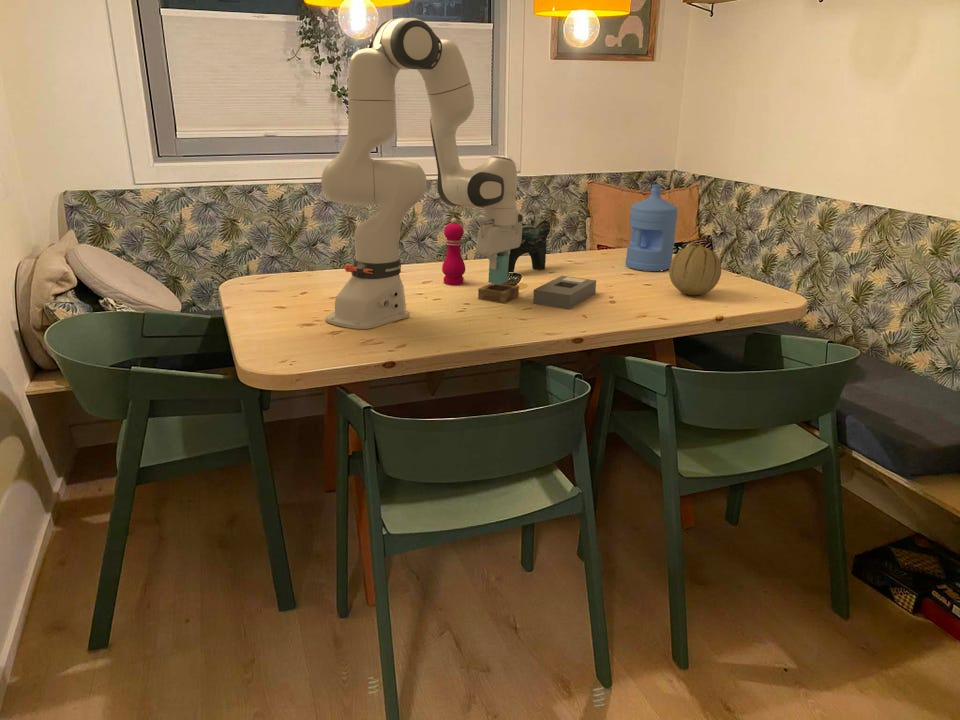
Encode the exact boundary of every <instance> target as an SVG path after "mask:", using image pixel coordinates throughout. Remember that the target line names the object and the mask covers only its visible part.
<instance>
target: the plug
mask: <svg viewBox="0 0 960 720" xmlns="http://www.w3.org/2000/svg"><path fill="white" fill-rule="evenodd" d="M496 260H497V262H498V268H497V269H491V268H490V263H489V266H488V267H489V268H488V281H487V282H488V283H489V284H491V283H494V284H498V285H502V284H505V283H508V278H509V276H508V265H509V254H504V251H503V252H500V253H497V257H496Z"/></svg>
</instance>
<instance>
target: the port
mask: <svg viewBox="0 0 960 720" xmlns="http://www.w3.org/2000/svg"><path fill="white" fill-rule="evenodd" d="M596 287H597V280H596V279H588V278H581V277H575V276H567V275H560V276H558V277H556V278H554V279H552V280H550V281H548V282H546V283H543V284H542V285H540V286H537V287H536V288H534V289H533V299H532V304H535V305H540V306H541V305H542V306H546V307H547V306H548V307H553V308H560V309H565V310H571V309H573V308H574V307H576V306H577V305H579V304H581V303H582V302H584V301H586V300H588V299H589V298H590V297H592V296H594V295H595V294H596V291H597V290H596Z"/></svg>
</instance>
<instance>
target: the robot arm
mask: <svg viewBox="0 0 960 720" xmlns="http://www.w3.org/2000/svg"><path fill="white" fill-rule="evenodd" d="M400 70H417V71H418V72H419V74H420V75H421V78H422V80H423V81H424V85H425V86H424V87H425V90H426V93H427V96H428V102H429V107H430V114H431V115H430V119H429V122H430V123H429V124H430V125H429V127H430V133H431V134H430V135H431V139H432V145H433V151H434V156H435V162H436V167H437V168H436V169H437V181H436V182H437V183H436V184H437V194H438V196H439V198H440V200H441V201H442V202H443V203H444V204H446V205H448V206H451V207H460V206H461V207H467V208H468V207H470V208H484V210H483V213H484V215H483V218H484V220H483V221H482V224H481V225H480V228H478V231H477V238H476V252H477V255H479V256H486V257H487V258H488V260H489V264H490V268H491V269H497V268H498V262H497V260H496V257H497V253H500V252H503V251H504V254H509V255H510V249H514V248H518V247H519V246H520V244H521V239H522V224H521V223H523V222H524V219H525V218H524V214H523V213H520V212H519V211H518V210H517V202H516V195H517V194H518V193H517V192H518V172H517V166H516V163H515V161H514V160H513V159H510V158H507V157H501V156H489V157H488V158H487V160H486V161H485V162H484V163H483V164H481V165H480V166H478V167H475V168H474V169H465V168H464V167H463V166H462V165H461V162H460V158H459V153H458V151H459V150H458V146H457V141H456V133H457V130H458V129H459V127H460V126H461V125H462V124H464V123H465V122H466V121H467V120H468V119H469V118H470V116H471V115H472V113H473V110H474V108H475V107H474V106H475V98H474V91H473V87H472V82H471V79H470V76H469V72H468V69H467V65H466V63H465V59H464V58H463V54H462V53H461V51H460V49H459V46H458V45H457V44H456V43H455V42H454V41H452V40H450V39H446V38H439V36H437V34H436V33H435V32H434V31H433V29H432V28H431V27H430V25H428V24H427V23H426V22H425V21H424V20H421V19H419V18H416V17H396V18H392V19H389V20H385V22H383V23H381V24H380V25H379V26H378V28H377V29H376V30H375V32H374V35H373V37H372V39H371V41H370V43H369V45H368V47H366V48H362V49H359V50H356V52H354V53H352V55H351V57H350V61H349V68H348V77H347V78H348V79H347V100H348V101H347V103H348V104H347V105H348V106H347V107H348V123H347V125H348V127H347V134H346V135H347V136H346V139H345V142H344V145H343V147H342V149H340V151H339V153H338V154H337V155H336V156H335V158H333V159H332V160H331V161H329V162H328V164H326V166H325V167H324V169H323V171H322V173H321V188H322V190H323V193H324V195H325V197H327V199H328V200H329V201H330V202H333V203H337V204H341V205H347V206H377V207H378V208H379V209H378V211H377V213H376V214H374V215H373V216H371V217H369V218H367V219H366V220H363V221H362V222H361V223H359V224H358V225H357V226H356V228H355V231H354V249H355V253H354V254H355V259H354V260H353V264H350V263H346V264H345V265H344V271H345V272H346V273H351V277H350V278H349V279H348V280H347V282H345V284H344V285H343V287H342V289H340V291H339V292H338V294H336V296H335V298H334V299H335V300H334V301H335V302H334V312H332V313H330V314H328V315H326V316H325V322H327V323H329V324H331V325H334V326H338V327H343V328H348V329H357V330H358V329H361V330H366V329H367V330H369V329H371V328H372V329H373V328H375V327H378V326H379V327H380V326H382V325H386V324H389V323H393V322H395V321H400V320H403V319H406V318H409V317H410V312H409V311H408V310H407V304H406V295H405V289H404V284H403V281H402V280H401V277H400V274H401V273H402V269H401V267H402V264H401V259H400V257H399V255H400V253H399V245H400V241H399V240H400V231H401V227H402V222H403V221H404V218H405V217H406V215H407V214H408V212H409V211H410V210H411V209H412V207H414V206H415V205H416V204H417V203H419V202H420V201H421V200H422V199H423V197H424V195H425V194H426V190H427V185H428V184H427V183H428V182H427V175H426V173H425V171H424V169H423V168H422V166H421V165H420V164H419V163H417V162H413V161H407V160H402V159H374V158H371V154H372V153H371V152H372V151H373V150H374V149H375V148H378V147H380V146H382V145H383V144H385V143H387V142H389V141H390V140H391V139H392V138H393V137H394V135H395V133H396V130H397V128H396V99H395V98H396V97H395V96H396V95H395V84H396V79H397V75H398V74H399V72H400Z"/></svg>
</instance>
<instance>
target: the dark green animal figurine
mask: <svg viewBox="0 0 960 720" xmlns="http://www.w3.org/2000/svg"><path fill="white" fill-rule="evenodd" d="M529 213H532V214H533V218H531V217H530V218H528V219H529V220H530V222H529V224H526V223H523V222H522V223H521V224H522V239H521V244H520V246H519V247H518V248H514V249H510V255H509V265H508V272H514V273H515V268H516V263H517V260H518V259H519V257H520V256H522V255H524V254H529V257H530V259H531V267H532V270H536V271H541V270H546V260H547V259H546V257H547V238H548V236H549V234H550V233H551V223H550V221H548V220H547V219H545V217H544V215H542V214H541V215H540V217H539V218H536V214H535V212H534V210H528V211H527V212H526V213H525V216H528V215H529Z"/></svg>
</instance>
